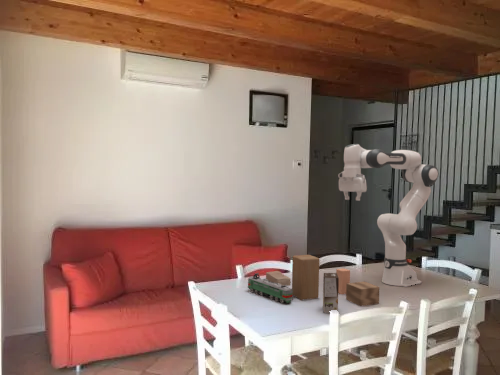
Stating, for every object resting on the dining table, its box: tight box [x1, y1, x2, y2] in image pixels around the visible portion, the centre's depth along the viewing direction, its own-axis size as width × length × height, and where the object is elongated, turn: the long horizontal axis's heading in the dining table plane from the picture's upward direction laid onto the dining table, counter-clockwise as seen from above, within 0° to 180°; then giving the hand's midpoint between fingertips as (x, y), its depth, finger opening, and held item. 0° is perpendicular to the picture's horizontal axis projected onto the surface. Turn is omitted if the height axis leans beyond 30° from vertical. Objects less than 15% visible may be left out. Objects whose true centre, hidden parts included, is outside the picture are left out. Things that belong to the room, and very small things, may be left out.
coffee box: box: [322, 272, 339, 314], centre depth 195 cm, size 9×6×16 cm
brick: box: [265, 270, 292, 287], centre depth 242 cm, size 17×8×5 cm, turn 22°
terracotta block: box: [335, 267, 351, 295], centre depth 223 cm, size 5×5×12 cm
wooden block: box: [291, 254, 320, 301], centre depth 215 cm, size 10×10×20 cm
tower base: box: [345, 280, 380, 307], centre depth 208 cm, size 11×11×8 cm
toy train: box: [247, 272, 294, 304], centre depth 214 cm, size 5×31×10 cm, turn 39°
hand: (352, 200), depth 230 cm, fingers open, 8 cm apart
